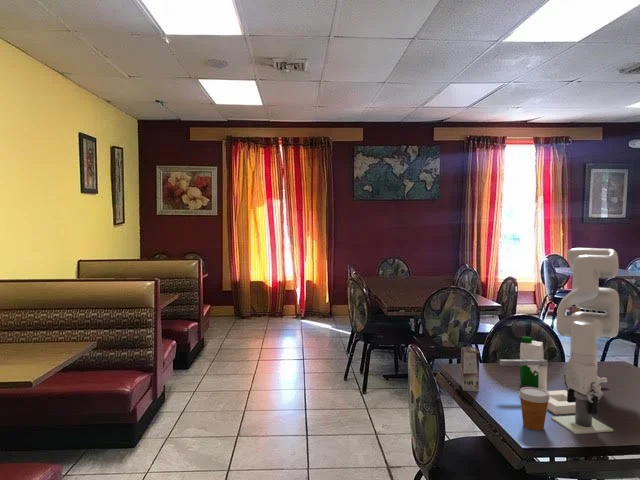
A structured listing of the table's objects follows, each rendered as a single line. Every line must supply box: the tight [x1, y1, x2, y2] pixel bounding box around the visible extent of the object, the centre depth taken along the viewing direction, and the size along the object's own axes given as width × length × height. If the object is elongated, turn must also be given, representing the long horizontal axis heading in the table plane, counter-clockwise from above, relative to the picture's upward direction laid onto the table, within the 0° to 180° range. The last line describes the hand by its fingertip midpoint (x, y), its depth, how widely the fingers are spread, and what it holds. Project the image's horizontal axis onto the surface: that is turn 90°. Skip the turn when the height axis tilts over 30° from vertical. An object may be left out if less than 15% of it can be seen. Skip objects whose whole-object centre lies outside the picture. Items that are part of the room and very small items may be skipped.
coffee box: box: [460, 346, 480, 392], centre depth 191 cm, size 9×6×16 cm
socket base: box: [538, 365, 576, 415], centre depth 176 cm, size 14×20×12 cm
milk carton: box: [519, 335, 545, 388], centre depth 196 cm, size 9×9×20 cm
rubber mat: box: [550, 414, 614, 435], centre depth 156 cm, size 14×12×1 cm
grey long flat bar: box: [499, 359, 548, 367], centre depth 183 cm, size 19×3×2 cm, turn 90°
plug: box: [574, 391, 593, 427], centre depth 156 cm, size 6×6×10 cm
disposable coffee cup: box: [518, 386, 550, 432], centre depth 155 cm, size 10×10×12 cm
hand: (581, 407), depth 156 cm, fingers open, 9 cm apart
